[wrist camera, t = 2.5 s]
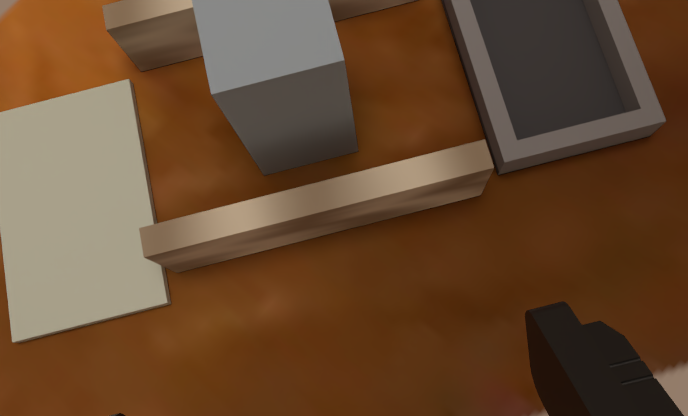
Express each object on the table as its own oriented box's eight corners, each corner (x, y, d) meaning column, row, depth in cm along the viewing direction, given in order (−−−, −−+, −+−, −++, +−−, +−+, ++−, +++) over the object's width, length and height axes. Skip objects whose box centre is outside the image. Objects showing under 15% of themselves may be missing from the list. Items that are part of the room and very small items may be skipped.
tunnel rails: (412, -22, 32) (415, -76, 28) (480, 195, 29) (494, 167, 25) (137, 50, 32) (102, 5, 28) (176, 273, 29) (144, 257, 25)
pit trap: (576, -51, 32) (587, -76, 30) (650, 136, 29) (666, 120, 27) (436, -15, 32) (439, -37, 30) (498, 175, 29) (504, 162, 27)
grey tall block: (335, 65, 31) (313, -55, 22) (358, 151, 30) (344, 59, 21) (244, 88, 31) (187, -22, 22) (263, 175, 30) (211, 94, 21)
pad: (133, 83, 32) (128, 78, 31) (171, 304, 29) (167, 302, 28) (-6, 119, 32) (-12, 115, 31) (18, 342, 29) (12, 342, 28)
